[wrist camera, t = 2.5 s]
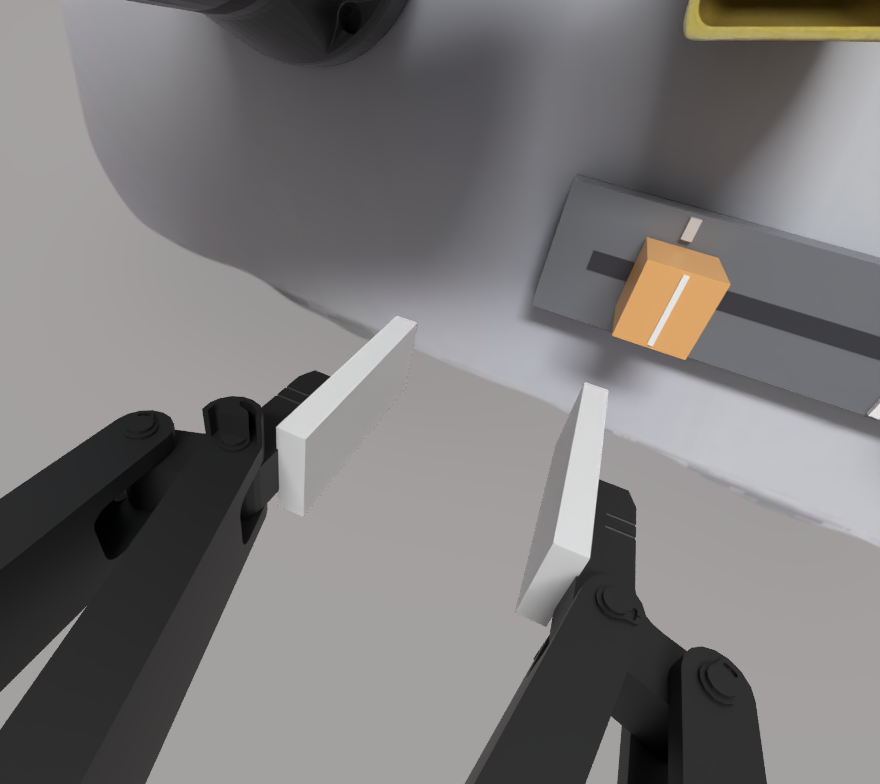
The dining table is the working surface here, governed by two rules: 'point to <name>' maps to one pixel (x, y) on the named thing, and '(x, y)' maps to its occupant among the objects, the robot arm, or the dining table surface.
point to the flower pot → (782, 20)
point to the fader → (669, 298)
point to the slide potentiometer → (730, 291)
